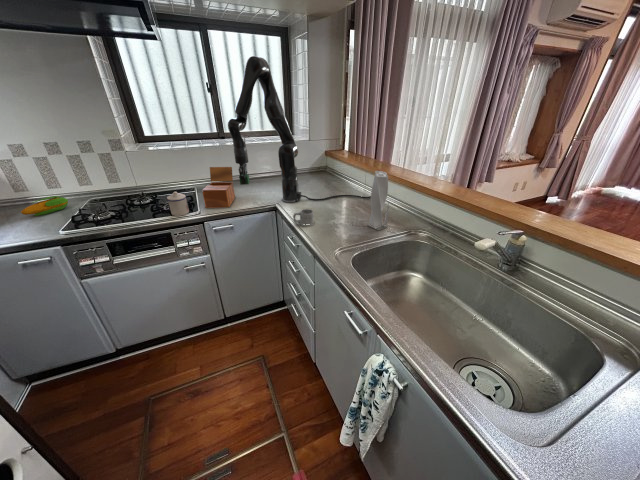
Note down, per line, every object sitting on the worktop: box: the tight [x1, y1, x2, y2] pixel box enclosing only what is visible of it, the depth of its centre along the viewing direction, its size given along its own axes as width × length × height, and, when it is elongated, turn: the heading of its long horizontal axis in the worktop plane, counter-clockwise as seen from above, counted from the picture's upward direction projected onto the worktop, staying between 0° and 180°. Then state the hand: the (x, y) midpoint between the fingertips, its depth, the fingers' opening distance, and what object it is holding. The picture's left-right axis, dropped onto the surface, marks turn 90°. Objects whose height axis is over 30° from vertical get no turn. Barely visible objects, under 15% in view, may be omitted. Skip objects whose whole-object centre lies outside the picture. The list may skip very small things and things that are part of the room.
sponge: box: [238, 173, 251, 185], centre depth 165 cm, size 5×5×5 cm
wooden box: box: [201, 181, 236, 209], centre depth 155 cm, size 17×13×10 cm
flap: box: [209, 166, 234, 182], centre depth 160 cm, size 8×13×1 cm
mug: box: [292, 208, 315, 228], centre depth 132 cm, size 10×7×7 cm, turn 90°
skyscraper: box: [367, 170, 390, 232], centre depth 125 cm, size 8×8×28 cm
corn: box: [20, 195, 69, 217], centre depth 140 cm, size 7×8×20 cm
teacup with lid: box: [166, 191, 190, 217], centre depth 141 cm, size 12×9×12 cm
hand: (245, 182), depth 166 cm, fingers closed on sponge, 5 cm apart
